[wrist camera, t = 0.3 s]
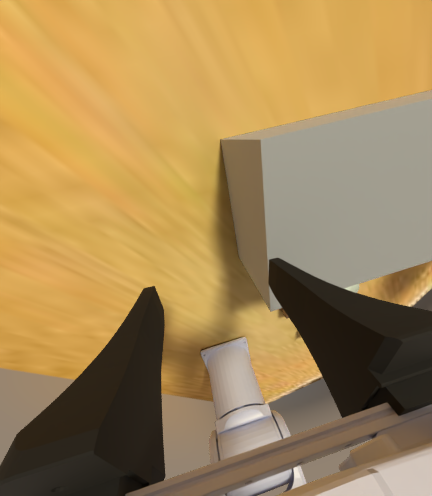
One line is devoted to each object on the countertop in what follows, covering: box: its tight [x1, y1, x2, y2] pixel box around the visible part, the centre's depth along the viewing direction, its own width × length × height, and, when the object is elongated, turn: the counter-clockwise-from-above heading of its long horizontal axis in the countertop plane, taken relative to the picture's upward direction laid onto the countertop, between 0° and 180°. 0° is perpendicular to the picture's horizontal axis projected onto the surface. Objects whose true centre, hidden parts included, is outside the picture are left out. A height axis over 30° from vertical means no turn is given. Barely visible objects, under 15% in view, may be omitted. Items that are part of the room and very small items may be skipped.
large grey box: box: [221, 90, 432, 312], centre depth 17 cm, size 13×22×9 cm, turn 102°
